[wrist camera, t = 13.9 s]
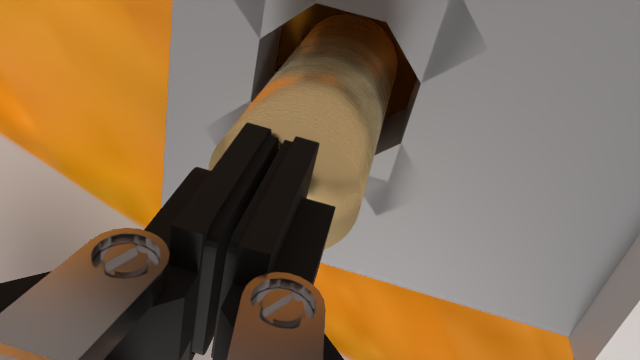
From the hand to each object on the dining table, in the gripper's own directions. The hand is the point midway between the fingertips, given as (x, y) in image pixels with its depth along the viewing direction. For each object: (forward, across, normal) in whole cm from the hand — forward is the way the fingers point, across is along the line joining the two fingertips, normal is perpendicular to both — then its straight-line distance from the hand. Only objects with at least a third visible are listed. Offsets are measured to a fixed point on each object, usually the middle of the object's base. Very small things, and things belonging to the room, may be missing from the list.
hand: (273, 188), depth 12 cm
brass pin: (+9, 0, 0) cm, 9 cm away
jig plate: (+9, -4, 0) cm, 10 cm away
